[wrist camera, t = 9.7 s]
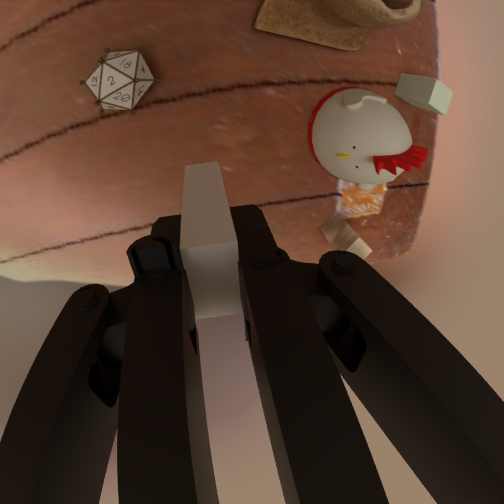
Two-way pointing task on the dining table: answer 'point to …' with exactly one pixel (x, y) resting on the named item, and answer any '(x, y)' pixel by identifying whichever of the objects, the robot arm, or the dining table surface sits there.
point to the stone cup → (333, 19)
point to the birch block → (344, 236)
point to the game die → (120, 80)
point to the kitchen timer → (361, 138)
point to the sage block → (424, 93)
